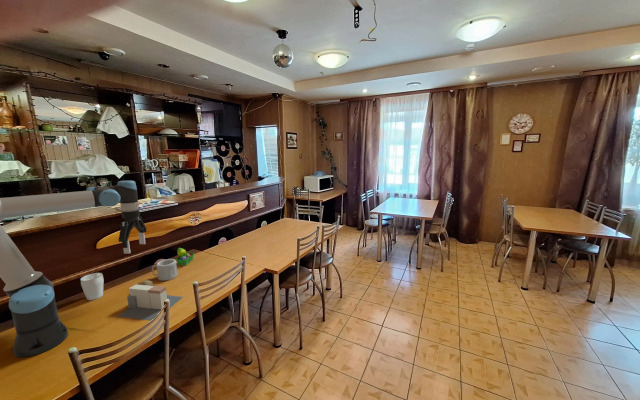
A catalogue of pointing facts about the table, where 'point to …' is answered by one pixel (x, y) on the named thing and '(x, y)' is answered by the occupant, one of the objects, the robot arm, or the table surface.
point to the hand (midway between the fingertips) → (135, 248)
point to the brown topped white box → (157, 296)
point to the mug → (166, 269)
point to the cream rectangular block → (139, 296)
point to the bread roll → (146, 283)
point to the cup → (92, 285)
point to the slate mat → (147, 310)
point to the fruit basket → (184, 257)
